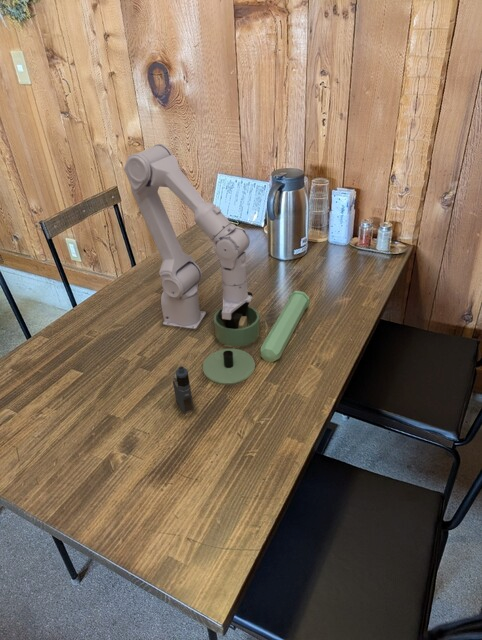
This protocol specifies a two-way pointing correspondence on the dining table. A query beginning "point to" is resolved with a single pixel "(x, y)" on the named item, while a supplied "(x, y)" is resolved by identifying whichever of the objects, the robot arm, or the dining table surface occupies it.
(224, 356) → the lid
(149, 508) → the dining table surface
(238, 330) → the pan
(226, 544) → the dining table surface
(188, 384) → the vaping device
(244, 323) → the block
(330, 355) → the dining table surface
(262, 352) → the green octagonal rod
